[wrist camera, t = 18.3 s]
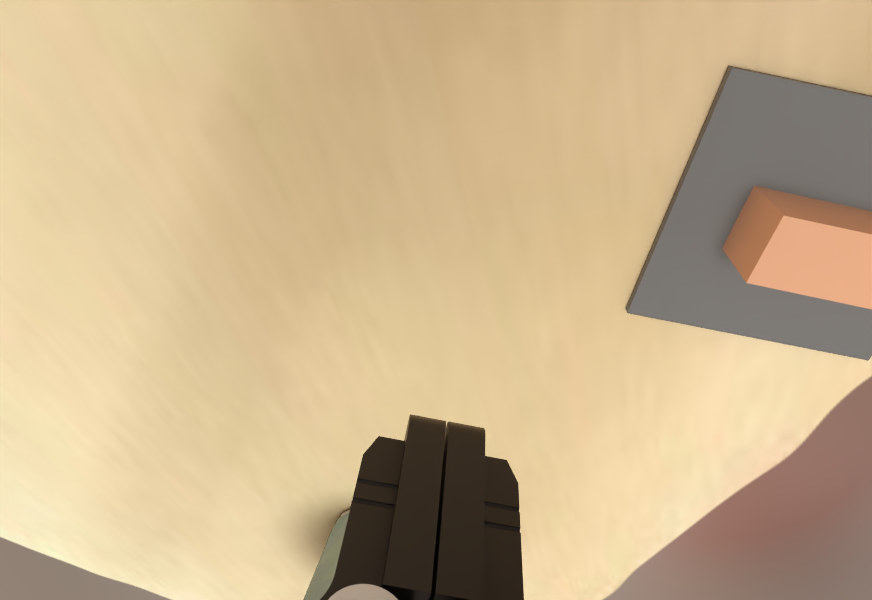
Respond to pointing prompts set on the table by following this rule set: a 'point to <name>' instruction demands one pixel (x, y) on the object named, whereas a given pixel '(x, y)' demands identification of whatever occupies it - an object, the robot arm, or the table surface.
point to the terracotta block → (804, 246)
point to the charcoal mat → (726, 195)
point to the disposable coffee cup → (328, 561)
